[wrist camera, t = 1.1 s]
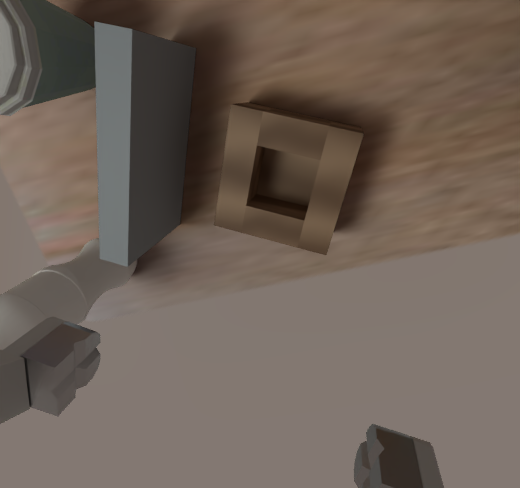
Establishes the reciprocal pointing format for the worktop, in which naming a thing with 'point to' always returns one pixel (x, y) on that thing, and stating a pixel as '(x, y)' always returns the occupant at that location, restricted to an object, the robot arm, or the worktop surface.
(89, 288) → the water bottle
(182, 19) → the worktop surface
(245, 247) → the worktop surface
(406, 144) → the worktop surface
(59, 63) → the disposable coffee cup
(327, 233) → the socket block
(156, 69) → the wall
